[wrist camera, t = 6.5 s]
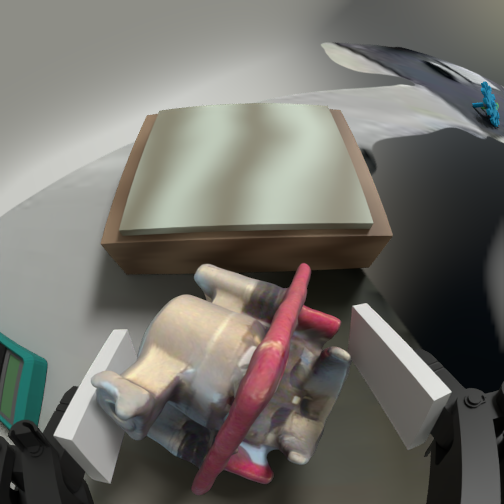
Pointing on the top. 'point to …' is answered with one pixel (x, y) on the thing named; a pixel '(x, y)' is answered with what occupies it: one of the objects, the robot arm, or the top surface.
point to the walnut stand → (245, 193)
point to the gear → (489, 104)
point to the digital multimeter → (20, 383)
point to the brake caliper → (231, 376)
